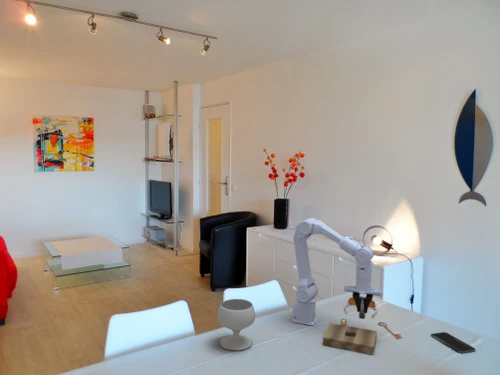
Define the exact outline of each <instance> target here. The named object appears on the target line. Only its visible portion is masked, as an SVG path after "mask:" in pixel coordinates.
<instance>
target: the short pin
mask: <svg viewBox="0 0 500 375" xmlns="http://www.w3.org/2000/svg"><path fill="white" fill-rule="evenodd" d="M340 325H344V326H348V320H347V319H346V318H341V319H340Z"/></svg>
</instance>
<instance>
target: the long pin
mask: <svg viewBox="0 0 500 375" xmlns="http://www.w3.org/2000/svg"><path fill="white" fill-rule="evenodd" d="M365 308H366V298H365V297H360V302H359V312H358V318H359V319H362V320H364V319H366V313H365Z"/></svg>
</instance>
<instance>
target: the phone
mask: <svg viewBox="0 0 500 375" xmlns="http://www.w3.org/2000/svg"><path fill="white" fill-rule="evenodd" d="M430 337H431V338H432V339H434V340H435V341H436V342H438V343H441V344H442V345H443V346H445V347H447V348H448V349H450V348H451V350H452V351H454V352H455V353H456V354H457V353H458V354H459V353H460V354H462V355H463V354H469V353H474V352H476V348H475V347H473V346H471V345H470V344H468V343H466V342H464V341H462V340H461V339H459V338H457V337H455V336H454V335H452V334H450V333H448V332H446V331H441V332H434V333H431V334H430Z"/></svg>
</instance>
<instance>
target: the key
mask: <svg viewBox="0 0 500 375" xmlns="http://www.w3.org/2000/svg"><path fill="white" fill-rule="evenodd" d="M377 324H378V326H380V327H383V328H385V329H386V330H387V332H389V333H390V334H391V335H392V336H393V337H394V338H395V339H396V340H400V339H402V336H401V334H400V333H397V334H396V333H394V332H393V331H391V329H389V327H388V324H387V323H385V322H381V321H379V322H378V323H377Z"/></svg>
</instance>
